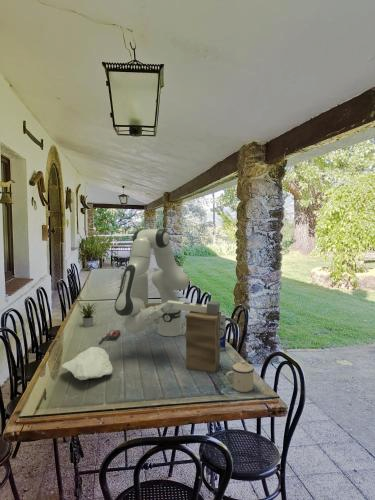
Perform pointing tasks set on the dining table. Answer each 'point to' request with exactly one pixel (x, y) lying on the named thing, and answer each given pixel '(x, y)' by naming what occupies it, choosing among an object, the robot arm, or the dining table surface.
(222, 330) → the milk carton
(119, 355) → the dining table surface
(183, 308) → the power strip
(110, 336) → the walkie-talkie
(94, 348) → the crumpled cloth
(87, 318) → the house plant
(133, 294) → the vase
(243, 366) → the teacup with lid
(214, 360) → the stand
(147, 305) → the planter bowl
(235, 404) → the dining table surface
